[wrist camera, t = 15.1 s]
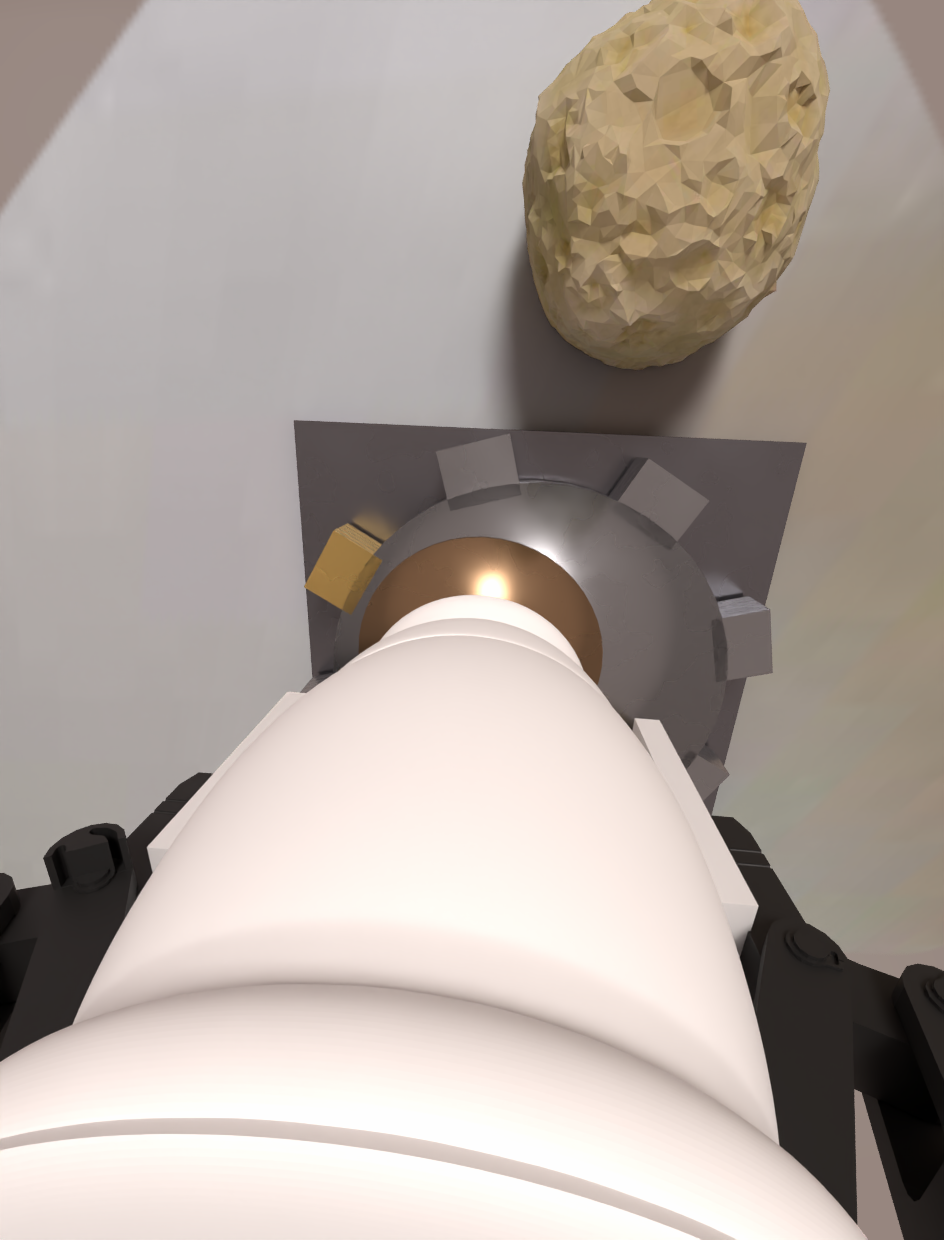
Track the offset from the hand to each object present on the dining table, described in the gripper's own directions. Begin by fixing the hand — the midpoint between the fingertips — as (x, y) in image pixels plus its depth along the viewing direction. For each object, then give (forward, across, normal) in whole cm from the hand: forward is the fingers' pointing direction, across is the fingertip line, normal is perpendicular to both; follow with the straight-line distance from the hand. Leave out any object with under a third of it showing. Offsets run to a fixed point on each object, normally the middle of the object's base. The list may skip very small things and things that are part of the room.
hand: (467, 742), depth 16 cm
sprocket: (+9, +2, -1) cm, 9 cm away
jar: (+3, 0, 0) cm, 3 cm away
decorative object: (+10, +5, +17) cm, 20 cm away
